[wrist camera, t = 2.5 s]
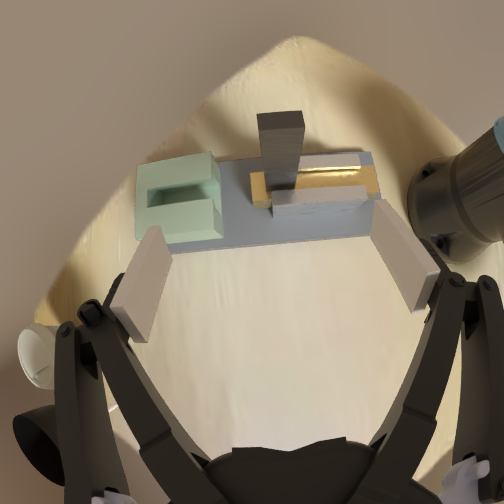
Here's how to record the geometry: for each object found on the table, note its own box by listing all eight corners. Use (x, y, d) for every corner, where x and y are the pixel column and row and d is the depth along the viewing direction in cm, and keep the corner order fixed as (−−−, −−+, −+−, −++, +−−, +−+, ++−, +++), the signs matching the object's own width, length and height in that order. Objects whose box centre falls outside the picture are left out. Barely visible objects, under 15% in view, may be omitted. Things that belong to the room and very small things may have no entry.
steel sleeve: (347, 172, 32) (358, 154, 26) (354, 211, 31) (367, 198, 26) (268, 177, 32) (267, 158, 27) (273, 218, 32) (272, 205, 27)
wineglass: (167, 409, 32) (88, 489, 12) (125, 421, 32) (44, 483, 12) (140, 360, 33) (36, 410, 13) (100, 376, 33) (3, 418, 13)
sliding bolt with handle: (365, 175, 30) (418, 106, 15) (370, 200, 30) (431, 141, 15) (252, 183, 31) (233, 106, 16) (254, 209, 31) (235, 145, 16)
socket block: (219, 169, 33) (210, 151, 28) (223, 238, 32) (213, 229, 27) (154, 180, 34) (137, 165, 29) (154, 245, 33) (134, 238, 28)
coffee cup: (72, 365, 34) (20, 381, 22) (67, 314, 34) (12, 319, 23) (111, 376, 33) (60, 401, 21) (107, 321, 34) (50, 330, 22)
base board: (367, 156, 33) (370, 151, 32) (383, 234, 32) (387, 232, 30) (153, 178, 35) (148, 174, 34) (152, 256, 34) (147, 254, 33)
